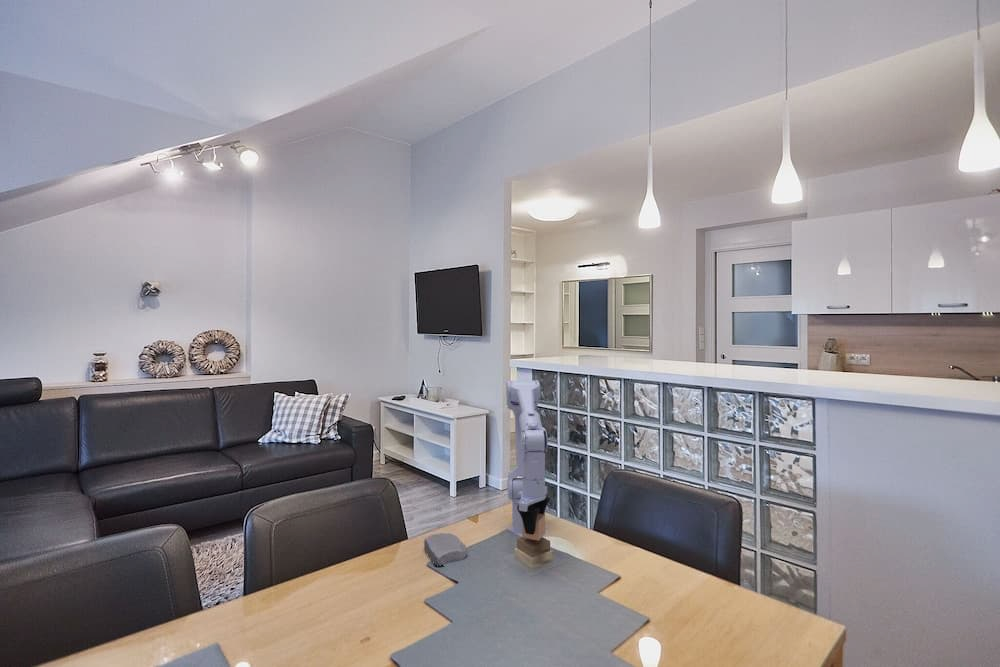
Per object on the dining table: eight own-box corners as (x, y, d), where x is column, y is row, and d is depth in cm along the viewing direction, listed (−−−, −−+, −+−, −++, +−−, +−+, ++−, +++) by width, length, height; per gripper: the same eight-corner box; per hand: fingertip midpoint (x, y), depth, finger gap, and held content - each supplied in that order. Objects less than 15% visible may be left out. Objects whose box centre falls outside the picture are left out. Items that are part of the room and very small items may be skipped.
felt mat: (536, 546, 135) (536, 544, 135) (567, 564, 125) (567, 561, 125) (500, 559, 128) (500, 556, 128) (530, 578, 118) (530, 576, 118)
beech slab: (535, 550, 131) (535, 541, 131) (552, 560, 125) (553, 551, 125) (514, 557, 127) (514, 548, 127) (531, 568, 121) (531, 558, 121)
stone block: (454, 549, 138) (420, 549, 133) (457, 532, 138) (423, 531, 133) (470, 570, 127) (433, 570, 123) (474, 551, 127) (437, 551, 123)
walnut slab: (534, 542, 130) (534, 533, 130) (550, 550, 126) (550, 541, 125) (517, 548, 127) (517, 538, 127) (532, 557, 122) (532, 547, 122)
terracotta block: (529, 530, 129) (529, 511, 129) (544, 533, 127) (545, 514, 127) (522, 537, 125) (522, 517, 125) (538, 540, 123) (538, 520, 123)
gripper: (529, 467, 134) (529, 517, 134) (507, 482, 121) (507, 537, 121) (554, 470, 131) (554, 521, 131) (534, 487, 118) (534, 543, 118)
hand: (533, 529), depth 126 cm, fingers closed on terracotta block, 4 cm apart
